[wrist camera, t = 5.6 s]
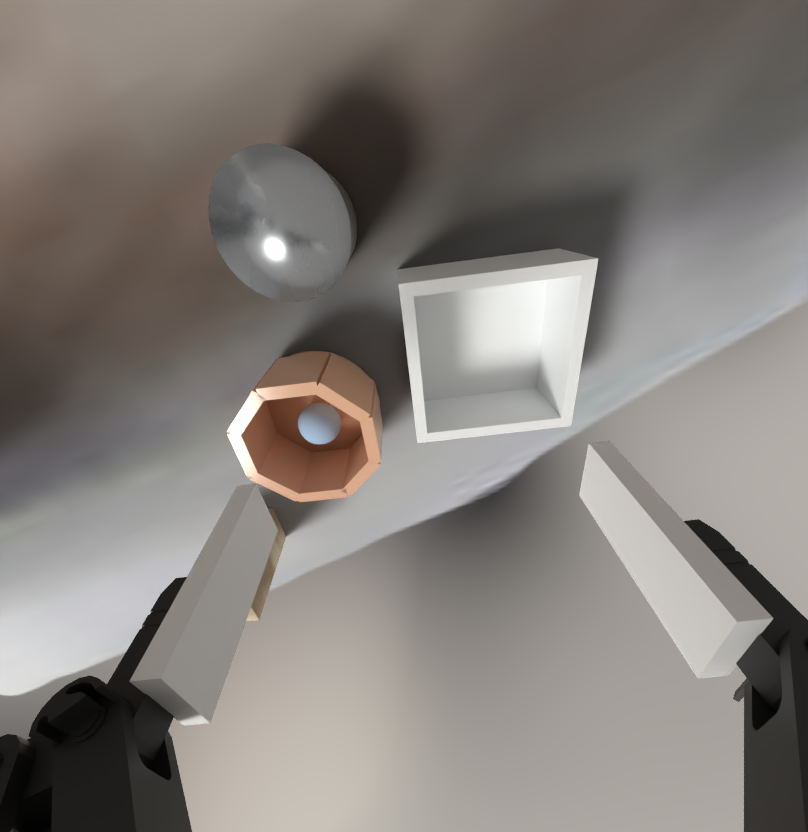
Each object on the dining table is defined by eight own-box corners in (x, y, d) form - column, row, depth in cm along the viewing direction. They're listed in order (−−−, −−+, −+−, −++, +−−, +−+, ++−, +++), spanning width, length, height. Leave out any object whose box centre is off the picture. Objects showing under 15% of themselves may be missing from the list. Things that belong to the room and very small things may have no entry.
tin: (233, 167, 19) (183, 155, 14) (348, 150, 18) (334, 133, 14) (270, 288, 22) (239, 309, 17) (368, 275, 22) (362, 293, 17)
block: (231, 512, 32) (187, 595, 25) (273, 508, 32) (240, 590, 25) (246, 540, 34) (209, 624, 27) (285, 536, 34) (259, 619, 27)
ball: (293, 398, 25) (291, 424, 22) (335, 390, 25) (336, 415, 23) (305, 430, 27) (304, 456, 24) (344, 422, 27) (346, 448, 24)
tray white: (397, 268, 22) (398, 284, 17) (557, 248, 21) (598, 258, 17) (413, 405, 27) (417, 443, 23) (542, 390, 27) (571, 425, 22)
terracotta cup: (243, 358, 24) (208, 394, 20) (369, 342, 24) (364, 375, 19) (282, 457, 29) (260, 506, 24) (388, 446, 29) (387, 493, 24)
